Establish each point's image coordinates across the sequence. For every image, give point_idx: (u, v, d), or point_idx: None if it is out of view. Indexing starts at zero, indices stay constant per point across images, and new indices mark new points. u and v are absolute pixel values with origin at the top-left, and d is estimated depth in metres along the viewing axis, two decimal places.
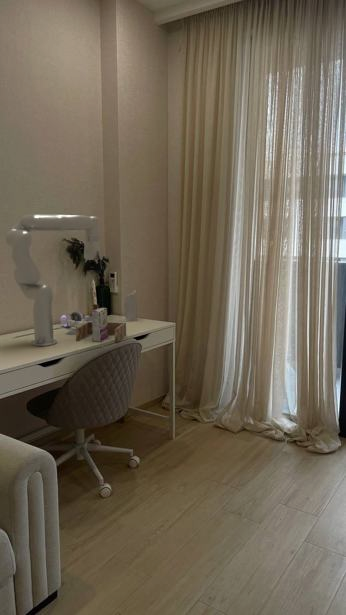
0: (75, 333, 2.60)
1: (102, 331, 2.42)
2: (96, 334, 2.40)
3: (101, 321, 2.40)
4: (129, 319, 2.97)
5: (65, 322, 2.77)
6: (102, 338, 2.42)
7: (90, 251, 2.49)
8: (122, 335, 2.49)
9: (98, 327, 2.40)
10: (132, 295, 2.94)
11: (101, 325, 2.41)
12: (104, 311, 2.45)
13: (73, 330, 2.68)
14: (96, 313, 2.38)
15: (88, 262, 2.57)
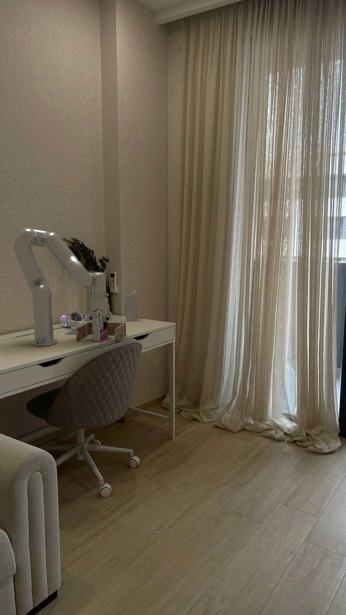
0: (75, 333, 2.60)
1: (102, 331, 2.42)
2: (96, 334, 2.40)
3: (101, 321, 2.40)
4: (129, 319, 2.97)
5: (65, 322, 2.77)
6: (102, 338, 2.42)
7: None
8: (122, 335, 2.49)
9: (98, 327, 2.40)
10: (132, 295, 2.94)
11: (101, 325, 2.41)
12: None
13: (73, 330, 2.68)
14: (96, 313, 2.38)
15: (104, 320, 2.44)
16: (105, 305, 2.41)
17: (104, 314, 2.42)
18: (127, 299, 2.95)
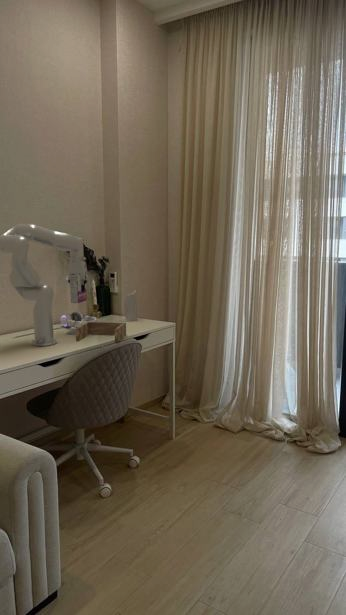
0: (75, 333, 2.60)
1: (80, 293, 2.54)
2: (74, 296, 2.53)
3: (78, 283, 2.52)
4: (129, 319, 2.97)
5: (65, 322, 2.77)
6: (80, 300, 2.55)
7: None
8: (122, 335, 2.49)
9: (75, 289, 2.52)
10: (132, 295, 2.94)
11: (79, 287, 2.53)
12: None
13: (73, 330, 2.68)
14: (73, 276, 2.51)
15: None
16: (82, 268, 2.53)
17: (81, 277, 2.54)
18: (127, 299, 2.95)
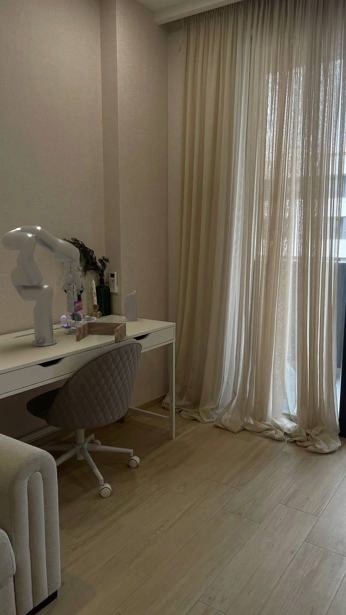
0: (75, 333, 2.60)
1: (76, 303, 2.59)
2: (71, 306, 2.57)
3: (74, 293, 2.56)
4: (129, 319, 2.97)
5: (65, 322, 2.77)
6: (76, 309, 2.59)
7: None
8: (122, 335, 2.49)
9: (72, 299, 2.56)
10: (132, 295, 2.94)
11: (75, 297, 2.57)
12: None
13: (73, 330, 2.68)
14: (70, 286, 2.55)
15: None
16: (79, 278, 2.57)
17: (78, 287, 2.58)
18: (127, 299, 2.95)
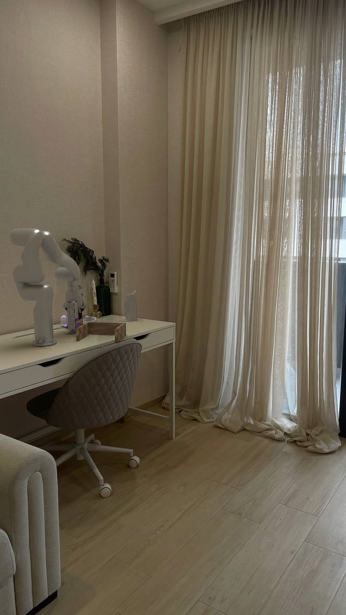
0: (75, 333, 2.60)
1: (77, 320, 2.60)
2: (71, 323, 2.58)
3: (75, 310, 2.58)
4: (129, 319, 2.97)
5: (65, 322, 2.77)
6: (77, 327, 2.60)
7: None
8: (122, 335, 2.49)
9: (73, 317, 2.57)
10: (132, 295, 2.94)
11: (76, 315, 2.58)
12: None
13: (73, 330, 2.68)
14: (70, 303, 2.56)
15: None
16: (79, 297, 2.59)
17: (79, 305, 2.60)
18: (127, 299, 2.95)
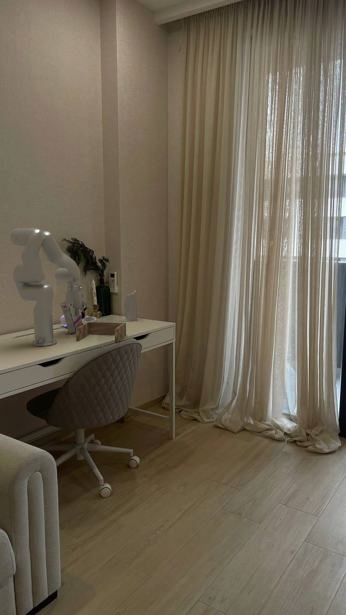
0: (75, 333, 2.60)
1: (75, 322, 2.60)
2: (71, 327, 2.58)
3: (72, 314, 2.56)
4: (129, 319, 2.97)
5: (65, 322, 2.77)
6: None
7: None
8: (122, 335, 2.49)
9: (71, 320, 2.57)
10: (132, 295, 2.94)
11: (73, 318, 2.58)
12: None
13: None
14: (66, 308, 2.54)
15: None
16: (79, 298, 2.59)
17: (78, 306, 2.60)
18: (127, 299, 2.95)
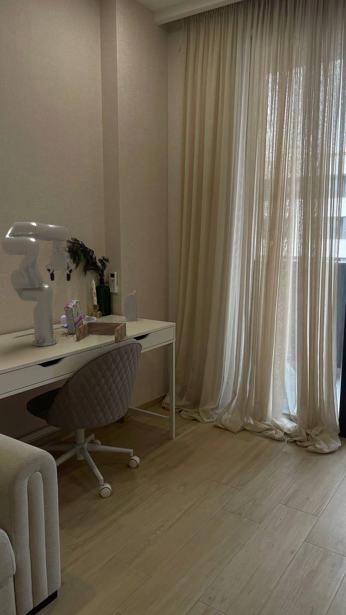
0: (75, 333, 2.60)
1: (76, 323, 2.60)
2: (71, 327, 2.58)
3: (74, 315, 2.56)
4: (129, 319, 2.97)
5: (65, 322, 2.77)
6: None
7: None
8: (122, 335, 2.49)
9: (72, 321, 2.56)
10: (132, 295, 2.94)
11: (75, 319, 2.57)
12: (76, 304, 2.59)
13: None
14: (68, 309, 2.54)
15: None
16: (64, 259, 2.53)
17: (64, 268, 2.54)
18: (127, 299, 2.95)
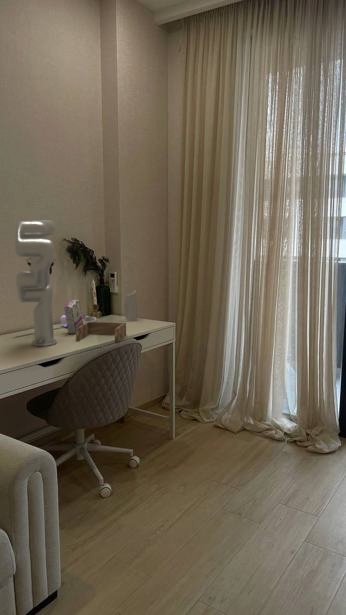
0: (75, 333, 2.60)
1: (76, 323, 2.60)
2: (71, 327, 2.58)
3: (74, 315, 2.56)
4: (129, 319, 2.97)
5: (65, 322, 2.77)
6: None
7: None
8: (122, 335, 2.49)
9: (72, 321, 2.56)
10: (132, 295, 2.94)
11: (75, 319, 2.57)
12: (76, 304, 2.59)
13: None
14: (68, 309, 2.54)
15: None
16: None
17: None
18: (127, 299, 2.95)
